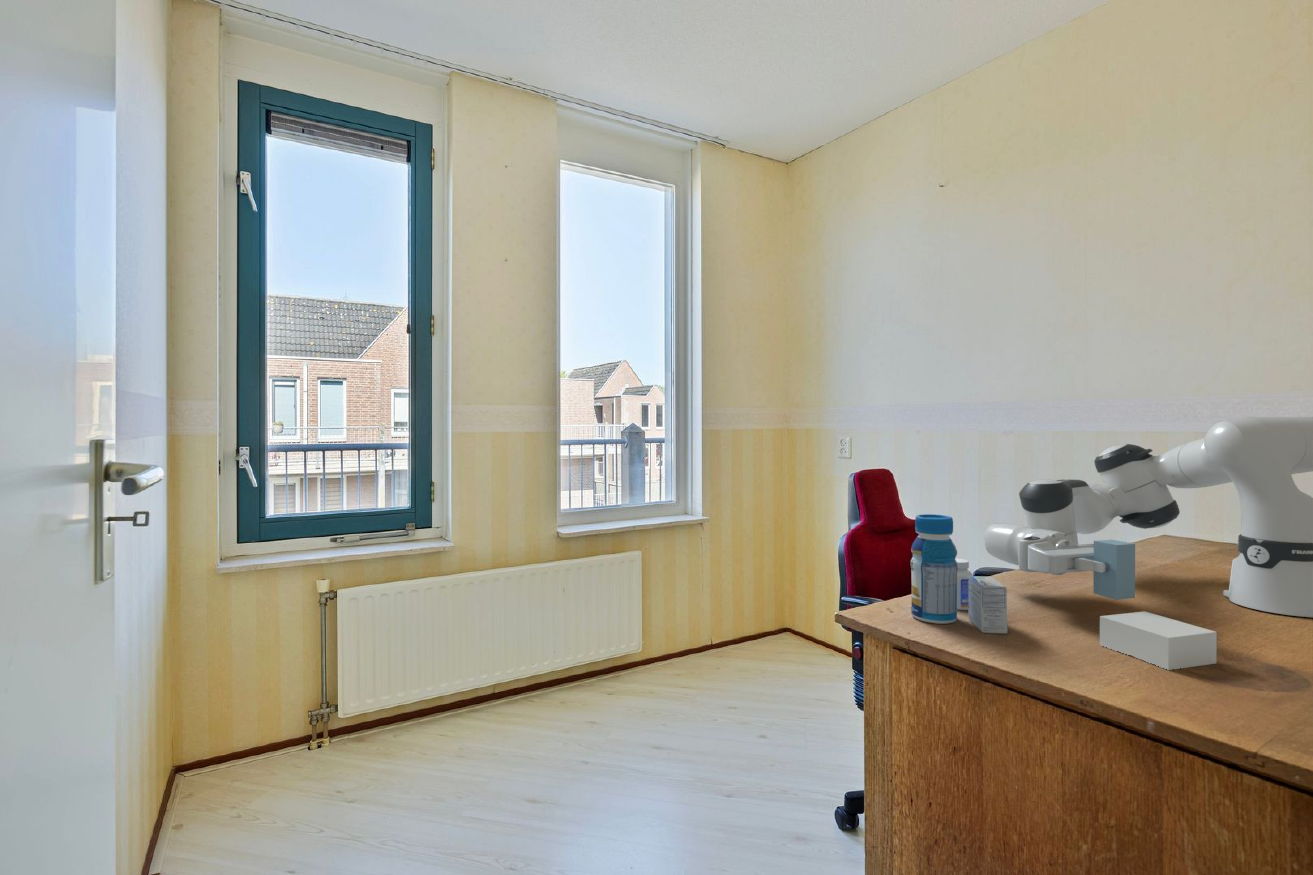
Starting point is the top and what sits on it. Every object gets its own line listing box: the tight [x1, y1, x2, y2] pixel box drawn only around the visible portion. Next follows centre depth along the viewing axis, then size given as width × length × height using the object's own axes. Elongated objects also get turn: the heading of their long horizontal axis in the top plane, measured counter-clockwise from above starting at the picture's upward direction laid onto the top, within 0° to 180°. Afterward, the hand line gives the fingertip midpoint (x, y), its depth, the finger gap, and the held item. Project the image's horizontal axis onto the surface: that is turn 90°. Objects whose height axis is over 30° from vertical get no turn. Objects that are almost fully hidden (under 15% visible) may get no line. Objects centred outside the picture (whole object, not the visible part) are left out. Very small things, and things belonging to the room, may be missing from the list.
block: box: [1093, 539, 1136, 601], centre depth 113 cm, size 4×4×10 cm
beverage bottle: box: [910, 513, 958, 625], centre depth 118 cm, size 8×8×20 cm
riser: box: [1099, 611, 1218, 671], centre depth 99 cm, size 10×11×5 cm
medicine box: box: [967, 575, 1008, 635], centre depth 113 cm, size 8×4×9 cm, turn 168°
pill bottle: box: [955, 557, 974, 611], centre depth 126 cm, size 5×5×10 cm
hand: (1118, 566), depth 112 cm, fingers closed on block, 4 cm apart
